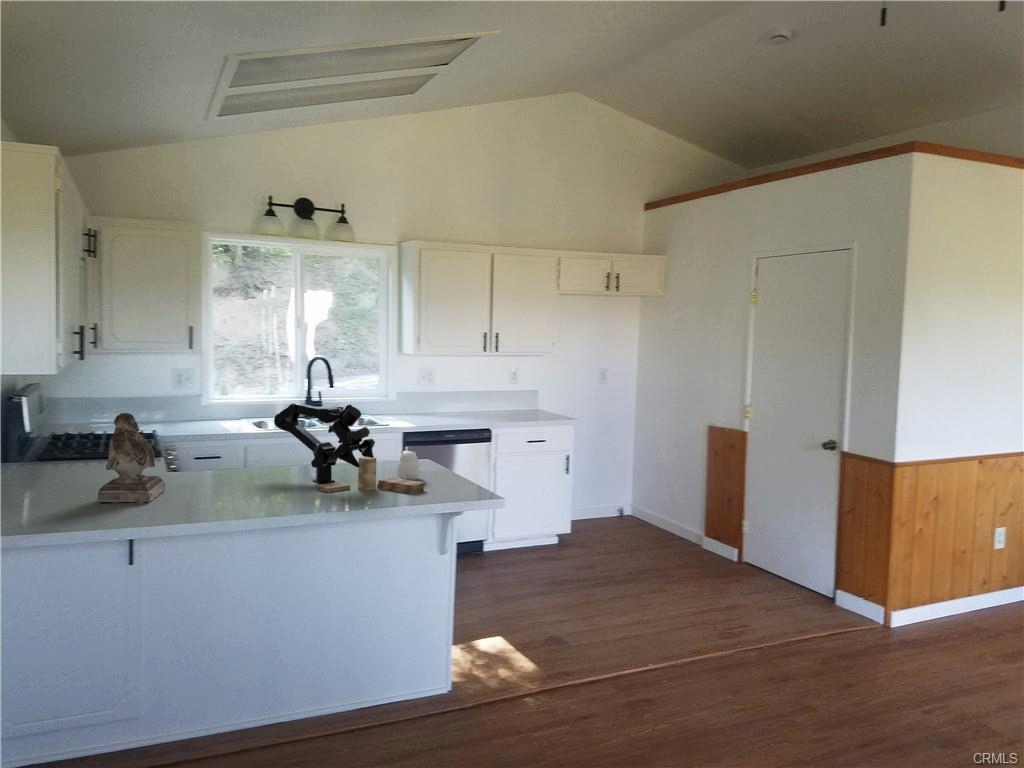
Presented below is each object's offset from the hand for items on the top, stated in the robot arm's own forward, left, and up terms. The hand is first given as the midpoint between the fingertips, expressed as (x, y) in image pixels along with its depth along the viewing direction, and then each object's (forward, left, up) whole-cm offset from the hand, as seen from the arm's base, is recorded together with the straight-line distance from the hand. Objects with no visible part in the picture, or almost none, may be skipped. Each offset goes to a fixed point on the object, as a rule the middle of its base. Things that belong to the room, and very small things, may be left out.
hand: (366, 465), depth 286 cm
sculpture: (-38, -72, -9) cm, 82 cm away
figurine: (-4, +23, -9) cm, 25 cm away
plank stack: (+9, +9, -9) cm, 16 cm away
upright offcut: (0, 0, -9) cm, 9 cm away
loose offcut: (-7, -10, -9) cm, 15 cm away
